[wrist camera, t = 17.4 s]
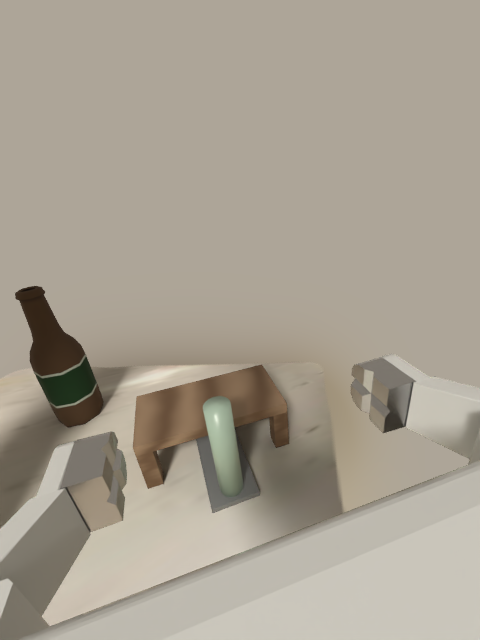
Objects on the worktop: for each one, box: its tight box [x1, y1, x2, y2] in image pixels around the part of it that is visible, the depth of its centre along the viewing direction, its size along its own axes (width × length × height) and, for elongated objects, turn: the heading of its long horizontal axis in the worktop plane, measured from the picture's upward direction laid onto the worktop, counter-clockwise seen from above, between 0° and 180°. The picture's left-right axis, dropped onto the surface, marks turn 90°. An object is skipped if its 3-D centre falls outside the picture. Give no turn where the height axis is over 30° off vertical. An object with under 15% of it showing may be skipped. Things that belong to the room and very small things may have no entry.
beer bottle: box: [15, 286, 103, 427], centre depth 48 cm, size 8×8×24 cm
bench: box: [133, 365, 289, 488], centre depth 43 cm, size 20×10×8 cm, turn 106°
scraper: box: [196, 396, 260, 513], centre depth 40 cm, size 17×6×14 cm, turn 17°
